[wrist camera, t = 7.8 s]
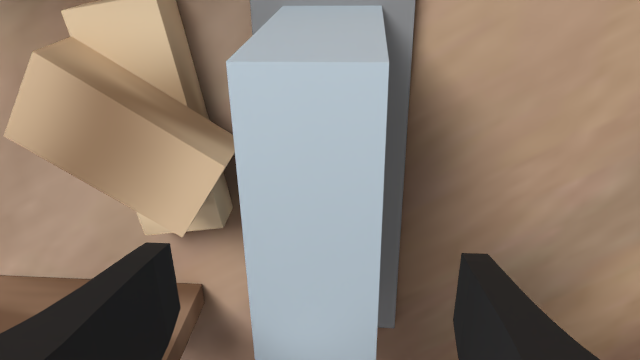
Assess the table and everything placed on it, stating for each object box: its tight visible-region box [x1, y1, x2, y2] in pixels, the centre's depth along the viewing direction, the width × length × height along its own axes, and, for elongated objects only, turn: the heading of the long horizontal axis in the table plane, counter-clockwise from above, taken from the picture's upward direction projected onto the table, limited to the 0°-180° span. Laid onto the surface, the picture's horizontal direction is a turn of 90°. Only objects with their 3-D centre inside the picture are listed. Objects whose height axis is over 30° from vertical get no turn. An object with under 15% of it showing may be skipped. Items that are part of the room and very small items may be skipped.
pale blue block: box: [226, 6, 389, 360], centre depth 15 cm, size 11×3×7 cm, turn 1°
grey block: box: [250, 0, 415, 328], centre depth 18 cm, size 14×5×1 cm, turn 1°
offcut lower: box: [61, 0, 233, 236], centre depth 18 cm, size 8×3×2 cm, turn 10°
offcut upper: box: [4, 37, 235, 237], centre depth 16 cm, size 6×3×2 cm, turn 58°
